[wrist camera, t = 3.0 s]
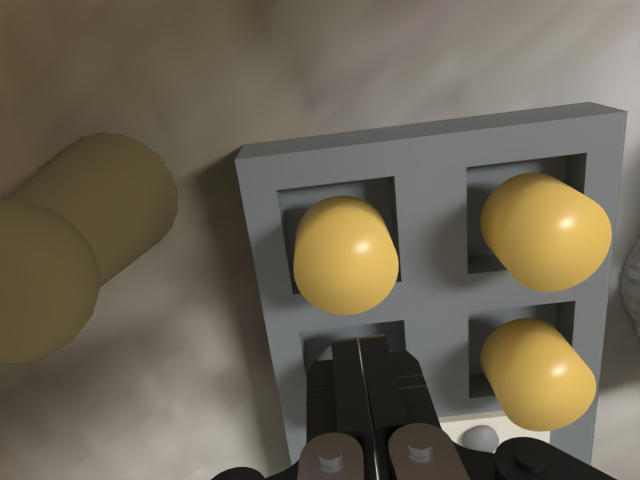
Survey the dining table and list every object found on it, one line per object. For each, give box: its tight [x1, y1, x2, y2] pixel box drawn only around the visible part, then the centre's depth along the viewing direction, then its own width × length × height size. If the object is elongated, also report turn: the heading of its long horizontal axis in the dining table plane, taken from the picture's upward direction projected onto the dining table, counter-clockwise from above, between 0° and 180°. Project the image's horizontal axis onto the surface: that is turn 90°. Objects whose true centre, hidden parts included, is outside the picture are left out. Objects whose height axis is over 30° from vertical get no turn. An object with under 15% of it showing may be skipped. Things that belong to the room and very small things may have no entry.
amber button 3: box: [480, 318, 596, 432], centre depth 23 cm, size 4×4×3 cm
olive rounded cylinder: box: [0, 133, 177, 365], centre depth 20 cm, size 6×6×11 cm
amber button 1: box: [293, 196, 399, 315], centre depth 21 cm, size 4×4×3 cm
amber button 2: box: [480, 172, 612, 292], centre depth 21 cm, size 4×4×3 cm
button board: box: [235, 102, 628, 480], centre depth 26 cm, size 20×16×4 cm
